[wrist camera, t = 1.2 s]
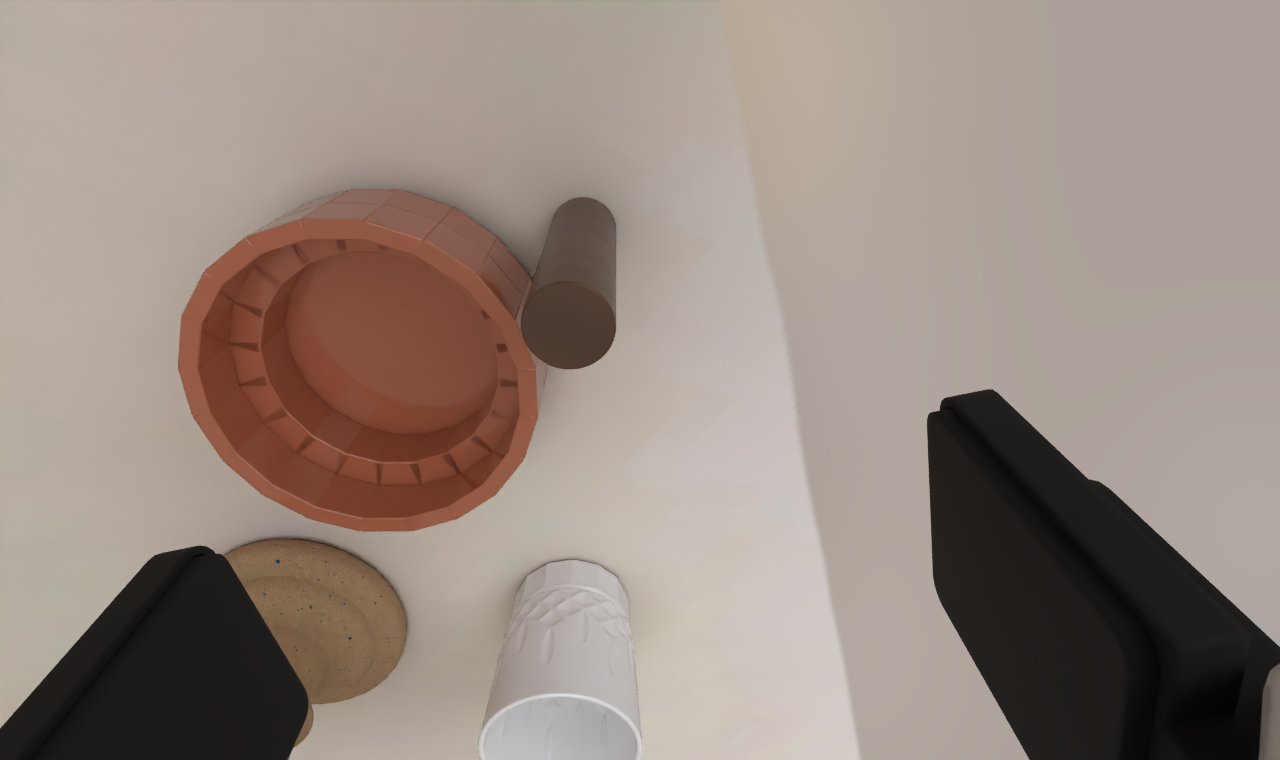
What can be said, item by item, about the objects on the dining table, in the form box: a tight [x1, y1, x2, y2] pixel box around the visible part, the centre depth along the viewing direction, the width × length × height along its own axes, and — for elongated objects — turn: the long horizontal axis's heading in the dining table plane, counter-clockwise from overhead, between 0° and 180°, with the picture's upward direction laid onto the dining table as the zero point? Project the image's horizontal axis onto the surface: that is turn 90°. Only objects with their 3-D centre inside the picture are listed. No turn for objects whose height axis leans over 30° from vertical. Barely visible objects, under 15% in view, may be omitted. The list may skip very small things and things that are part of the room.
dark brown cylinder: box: [521, 198, 616, 369], centre depth 28 cm, size 3×3×12 cm
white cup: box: [478, 559, 642, 760], centre depth 39 cm, size 8×8×10 cm
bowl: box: [178, 190, 548, 531], centre depth 33 cm, size 15×15×6 cm
